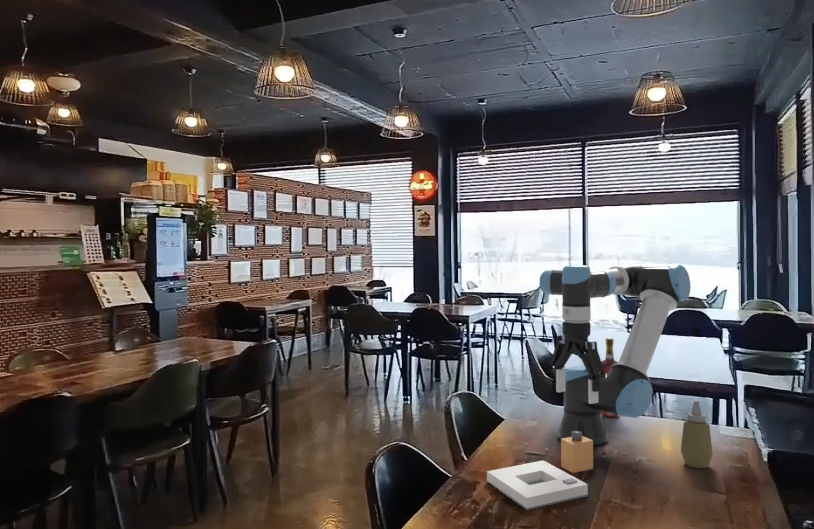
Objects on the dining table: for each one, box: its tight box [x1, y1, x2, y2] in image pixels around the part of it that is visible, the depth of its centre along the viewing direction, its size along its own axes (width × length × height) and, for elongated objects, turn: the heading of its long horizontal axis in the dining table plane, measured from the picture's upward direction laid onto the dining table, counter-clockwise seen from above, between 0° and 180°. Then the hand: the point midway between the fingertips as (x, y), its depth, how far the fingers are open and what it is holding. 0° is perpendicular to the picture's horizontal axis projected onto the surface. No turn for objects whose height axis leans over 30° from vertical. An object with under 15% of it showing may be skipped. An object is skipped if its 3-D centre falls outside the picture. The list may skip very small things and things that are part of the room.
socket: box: [486, 459, 589, 511], centre depth 151 cm, size 18×18×3 cm
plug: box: [560, 431, 594, 474], centre depth 165 cm, size 5×7×10 cm
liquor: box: [601, 337, 619, 419], centre depth 213 cm, size 7×7×28 cm
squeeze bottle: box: [680, 400, 714, 469], centre depth 165 cm, size 8×8×18 cm
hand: (576, 397), depth 164 cm, fingers open, 13 cm apart
